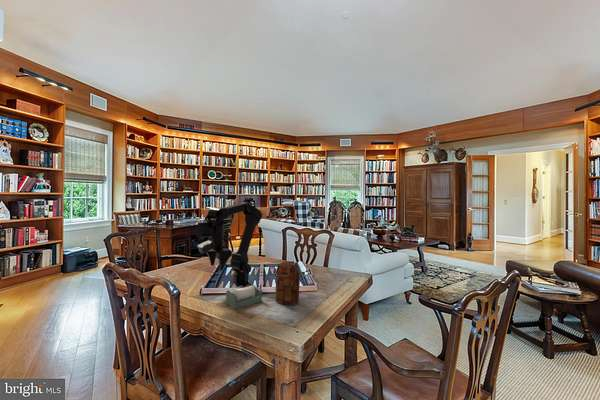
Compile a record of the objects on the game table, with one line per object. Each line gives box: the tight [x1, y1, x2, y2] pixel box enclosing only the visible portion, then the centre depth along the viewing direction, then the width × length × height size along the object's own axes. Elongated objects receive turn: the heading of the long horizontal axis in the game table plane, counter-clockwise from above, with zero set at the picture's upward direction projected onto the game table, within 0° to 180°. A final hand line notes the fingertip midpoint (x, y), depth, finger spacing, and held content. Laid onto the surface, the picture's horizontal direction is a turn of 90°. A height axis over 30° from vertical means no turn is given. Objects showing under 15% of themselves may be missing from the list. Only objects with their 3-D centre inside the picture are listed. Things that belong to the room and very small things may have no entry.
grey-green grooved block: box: [225, 284, 263, 310], centre depth 126 cm, size 13×8×5 cm, turn 130°
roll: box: [231, 285, 255, 302], centre depth 126 cm, size 9×5×5 cm, turn 130°
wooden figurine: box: [275, 260, 301, 306], centre depth 126 cm, size 12×6×18 cm, turn 73°
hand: (216, 268), depth 134 cm, fingers open, 9 cm apart
